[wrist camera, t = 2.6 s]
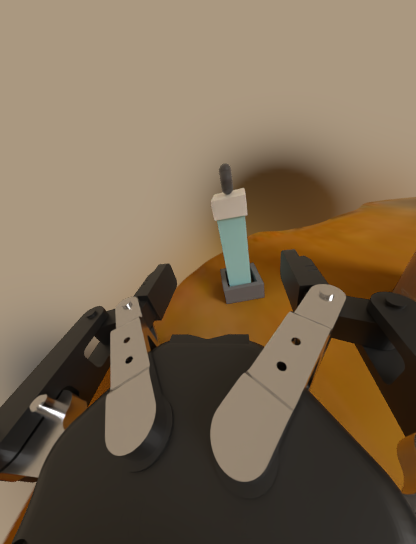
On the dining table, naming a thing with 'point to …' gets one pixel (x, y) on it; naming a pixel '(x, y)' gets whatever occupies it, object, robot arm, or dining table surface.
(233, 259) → the plug
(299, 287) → the robot arm
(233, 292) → the holster
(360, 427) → the dining table surface
